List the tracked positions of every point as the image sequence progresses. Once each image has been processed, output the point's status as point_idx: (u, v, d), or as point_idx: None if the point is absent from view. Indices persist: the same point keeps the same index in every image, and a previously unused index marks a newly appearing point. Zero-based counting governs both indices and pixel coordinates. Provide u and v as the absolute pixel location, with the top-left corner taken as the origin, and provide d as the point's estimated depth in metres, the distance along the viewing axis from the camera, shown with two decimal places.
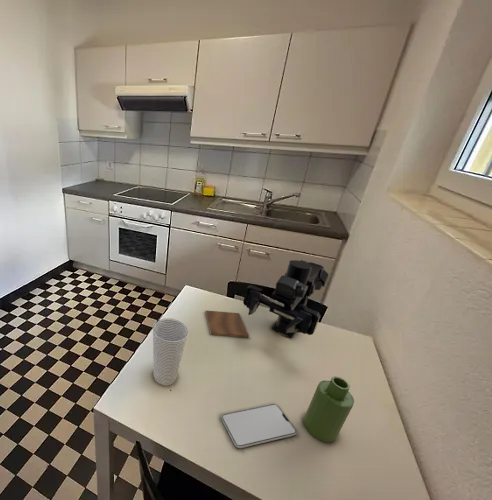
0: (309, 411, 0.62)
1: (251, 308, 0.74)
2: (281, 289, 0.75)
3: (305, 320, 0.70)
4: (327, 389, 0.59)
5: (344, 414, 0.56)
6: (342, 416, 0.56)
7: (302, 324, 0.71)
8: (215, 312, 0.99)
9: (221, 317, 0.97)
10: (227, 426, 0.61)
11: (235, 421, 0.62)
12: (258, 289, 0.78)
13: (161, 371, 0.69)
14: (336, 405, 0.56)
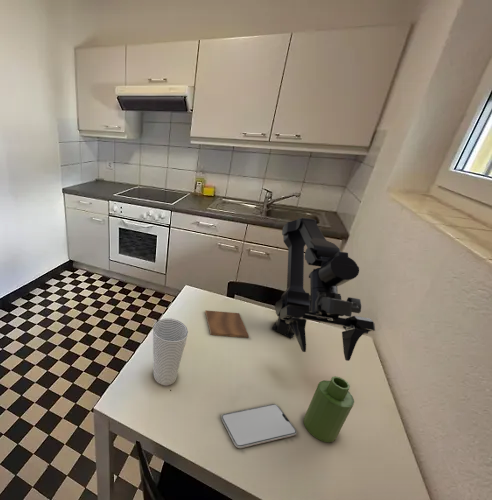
0: (309, 411, 0.62)
1: (304, 345, 0.65)
2: None
3: None
4: (327, 389, 0.59)
5: (344, 414, 0.56)
6: (342, 416, 0.56)
7: None
8: (215, 312, 0.99)
9: (221, 317, 0.97)
10: (227, 426, 0.61)
11: (235, 421, 0.62)
12: (301, 313, 0.66)
13: (161, 371, 0.69)
14: (336, 405, 0.56)
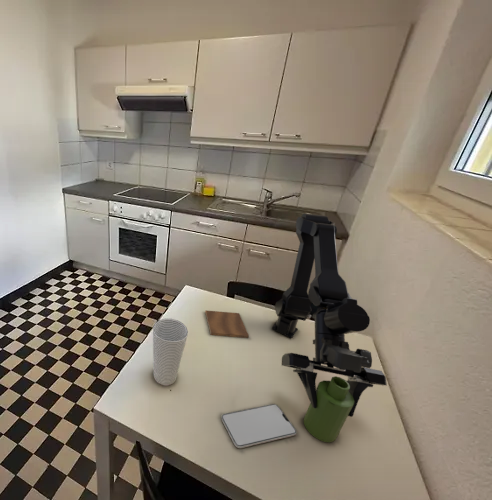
0: (309, 411, 0.62)
1: (314, 401, 0.59)
2: None
3: None
4: (327, 389, 0.59)
5: (344, 414, 0.56)
6: (342, 416, 0.56)
7: None
8: (215, 312, 0.99)
9: (221, 317, 0.97)
10: (227, 426, 0.61)
11: (235, 421, 0.62)
12: (305, 363, 0.60)
13: (161, 371, 0.69)
14: (336, 405, 0.56)
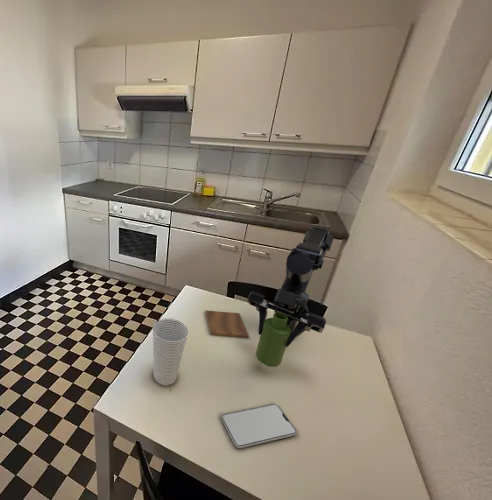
0: (259, 340, 0.76)
1: (260, 328, 0.74)
2: None
3: (306, 327, 0.70)
4: (271, 321, 0.73)
5: (277, 340, 0.70)
6: (276, 341, 0.70)
7: (304, 327, 0.71)
8: (215, 312, 0.99)
9: (221, 317, 0.97)
10: (227, 426, 0.61)
11: (235, 421, 0.62)
12: (259, 299, 0.75)
13: (161, 371, 0.69)
14: (270, 330, 0.70)
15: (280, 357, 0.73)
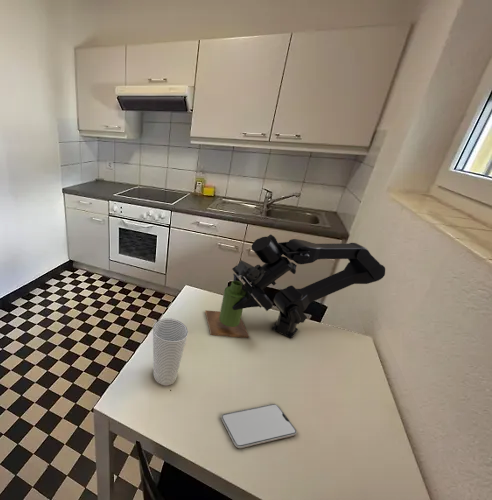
0: None
1: None
2: None
3: (252, 298, 0.81)
4: None
5: (226, 299, 0.86)
6: (225, 300, 0.86)
7: (254, 301, 0.81)
8: (215, 312, 0.99)
9: None
10: (227, 426, 0.61)
11: (235, 421, 0.62)
12: (237, 270, 0.91)
13: (161, 371, 0.69)
14: (224, 290, 0.87)
15: (229, 318, 0.87)
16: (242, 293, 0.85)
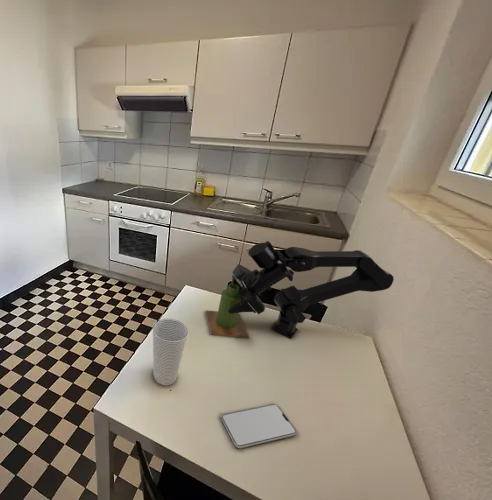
0: None
1: None
2: None
3: (246, 303, 0.83)
4: None
5: (222, 301, 0.90)
6: (221, 302, 0.90)
7: None
8: (215, 312, 0.99)
9: None
10: (227, 426, 0.61)
11: (235, 421, 0.62)
12: None
13: (161, 371, 0.69)
14: (222, 292, 0.91)
15: (225, 319, 0.91)
16: (238, 296, 0.89)
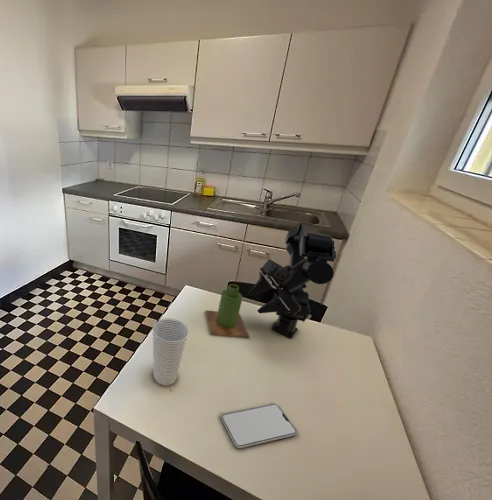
0: None
1: (251, 290, 0.87)
2: None
3: (279, 302, 0.75)
4: None
5: (222, 301, 0.90)
6: (221, 302, 0.90)
7: (282, 305, 0.76)
8: (215, 312, 0.99)
9: None
10: (227, 426, 0.61)
11: (235, 421, 0.62)
12: (264, 270, 0.86)
13: (161, 371, 0.69)
14: (222, 292, 0.91)
15: (225, 319, 0.91)
16: (238, 296, 0.89)
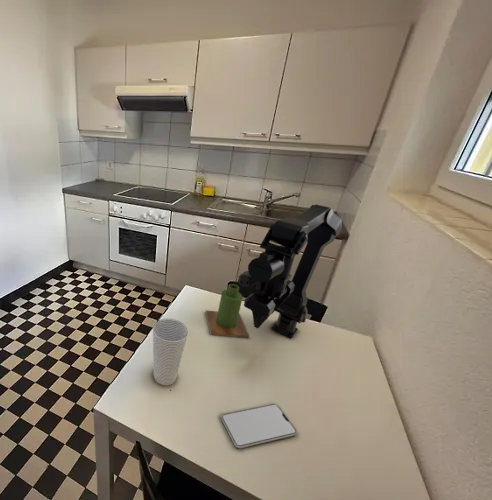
0: None
1: None
2: None
3: None
4: None
5: (222, 301, 0.90)
6: (221, 302, 0.90)
7: None
8: (215, 312, 0.99)
9: None
10: (227, 426, 0.61)
11: (235, 421, 0.62)
12: None
13: (161, 371, 0.69)
14: (222, 292, 0.91)
15: (225, 319, 0.91)
16: (238, 296, 0.89)
